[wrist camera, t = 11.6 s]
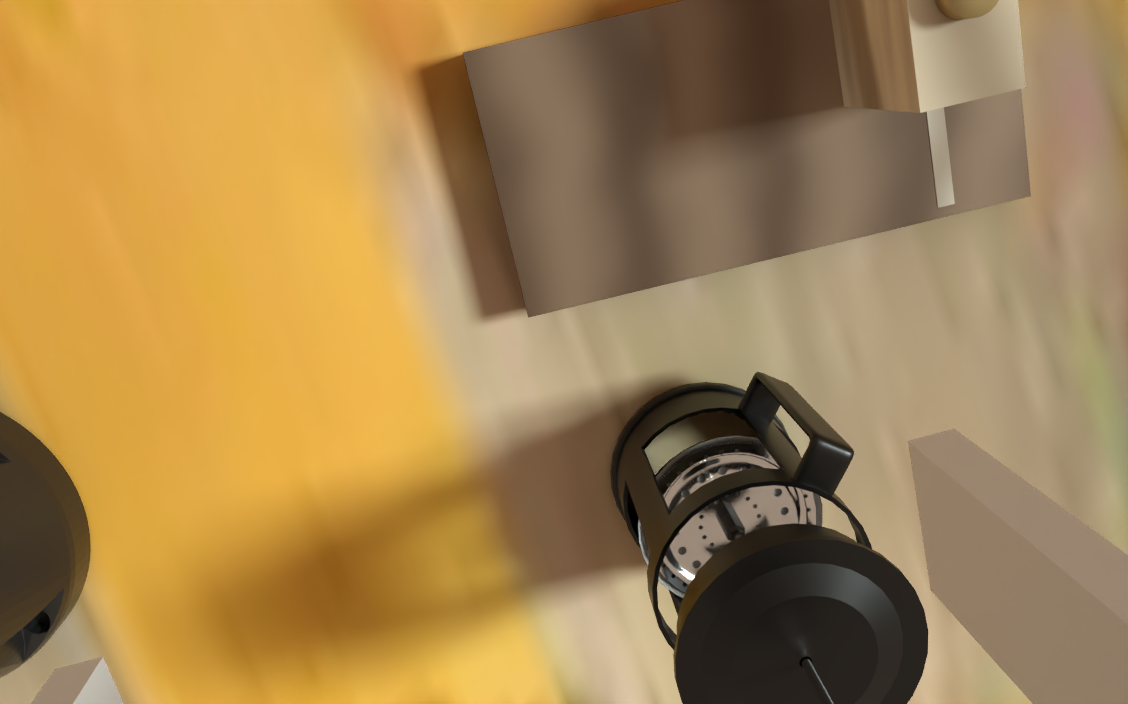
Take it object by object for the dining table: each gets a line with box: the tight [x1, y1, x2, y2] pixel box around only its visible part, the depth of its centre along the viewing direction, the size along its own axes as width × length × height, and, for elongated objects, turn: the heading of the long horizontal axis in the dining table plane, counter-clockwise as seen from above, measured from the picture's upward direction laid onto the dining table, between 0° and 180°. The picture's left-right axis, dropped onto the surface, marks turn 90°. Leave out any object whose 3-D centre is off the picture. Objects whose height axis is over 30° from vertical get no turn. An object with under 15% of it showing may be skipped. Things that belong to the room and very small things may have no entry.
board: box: [463, 0, 1031, 317], centre depth 44 cm, size 24×12×2 cm, turn 103°
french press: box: [611, 372, 928, 704], centre depth 39 cm, size 12×9×23 cm
